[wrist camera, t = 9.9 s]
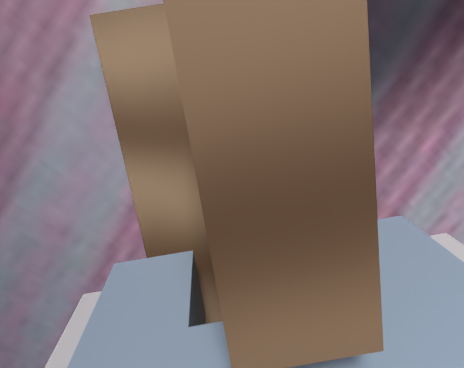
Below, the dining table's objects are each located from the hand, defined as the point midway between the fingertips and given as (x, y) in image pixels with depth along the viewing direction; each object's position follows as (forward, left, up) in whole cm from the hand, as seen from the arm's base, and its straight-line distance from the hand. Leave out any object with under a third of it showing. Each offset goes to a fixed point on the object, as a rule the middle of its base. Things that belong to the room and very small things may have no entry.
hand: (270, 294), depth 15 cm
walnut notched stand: (0, 0, -4) cm, 4 cm away
